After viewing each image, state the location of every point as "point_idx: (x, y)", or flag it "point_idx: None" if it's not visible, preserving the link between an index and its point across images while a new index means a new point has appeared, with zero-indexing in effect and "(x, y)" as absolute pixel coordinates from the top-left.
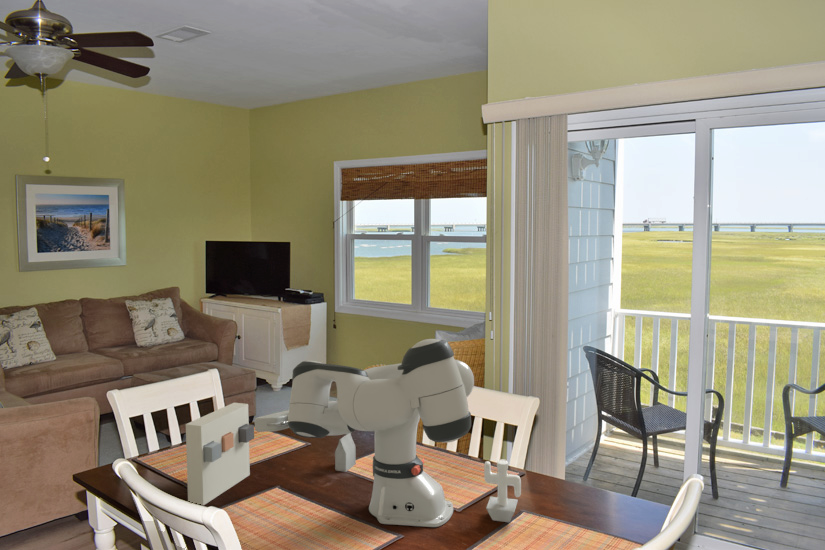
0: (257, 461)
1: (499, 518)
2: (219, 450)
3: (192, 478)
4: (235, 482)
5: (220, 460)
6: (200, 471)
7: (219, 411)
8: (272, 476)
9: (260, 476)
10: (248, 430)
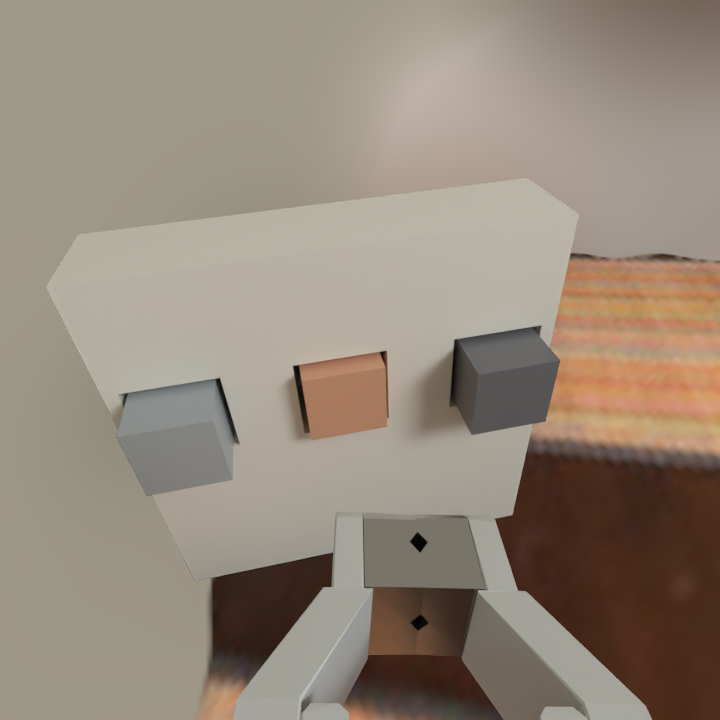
0: (612, 447)
1: None
2: (206, 453)
3: None
4: None
5: (295, 461)
6: None
7: (356, 211)
8: (582, 611)
9: (537, 562)
10: (500, 381)
